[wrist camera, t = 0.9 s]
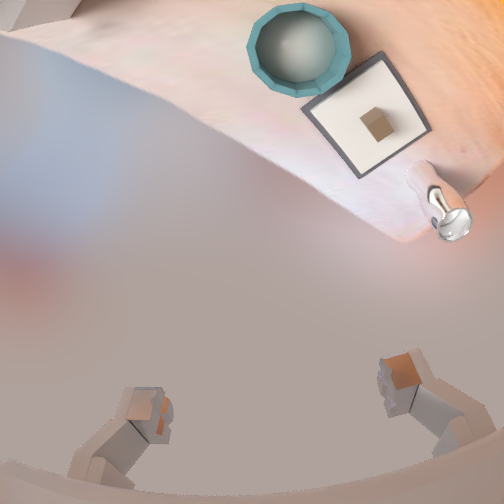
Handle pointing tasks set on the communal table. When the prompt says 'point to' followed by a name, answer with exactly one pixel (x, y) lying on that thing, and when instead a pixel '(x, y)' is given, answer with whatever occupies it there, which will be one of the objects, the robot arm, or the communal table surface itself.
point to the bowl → (299, 50)
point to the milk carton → (34, 12)
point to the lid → (370, 117)
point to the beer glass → (439, 202)
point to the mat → (340, 84)
